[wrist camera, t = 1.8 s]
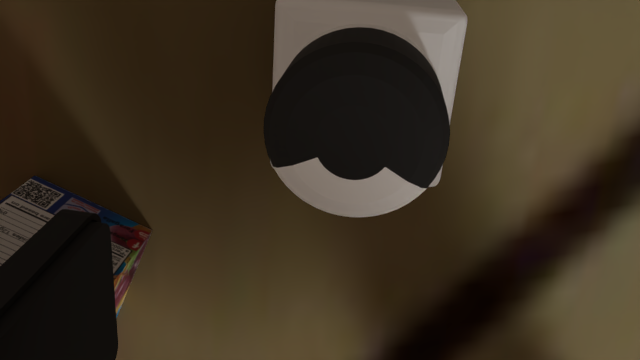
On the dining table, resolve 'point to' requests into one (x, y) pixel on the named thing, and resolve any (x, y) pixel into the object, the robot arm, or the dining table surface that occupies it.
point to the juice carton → (48, 199)
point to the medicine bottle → (362, 100)
